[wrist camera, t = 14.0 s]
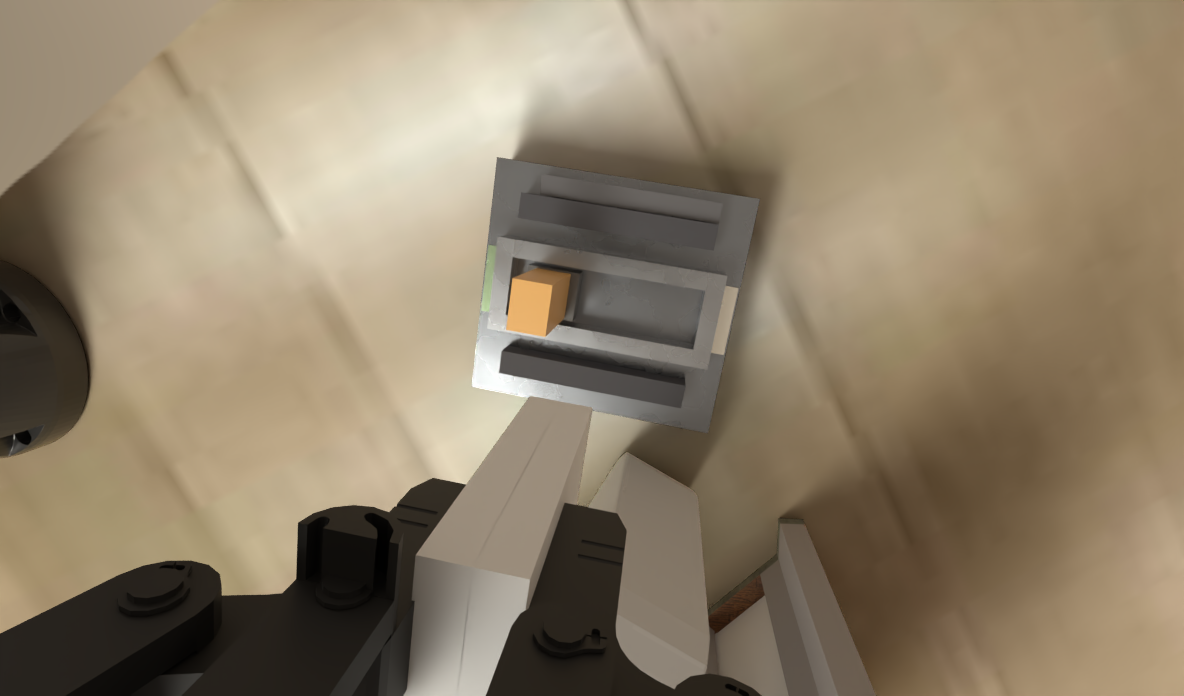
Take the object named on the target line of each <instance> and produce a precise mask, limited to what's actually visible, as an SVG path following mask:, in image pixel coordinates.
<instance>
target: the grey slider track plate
mask: <svg viewBox="0 0 1184 696" xmlns="http://www.w3.org/2000/svg"><path fill="white" fill-rule="evenodd" d="M542 195H546V196H542ZM548 196H552V197H548ZM554 197H558V198H554ZM560 198H565V199H560ZM566 199H571V200H566ZM572 200H577V201H572ZM579 201H583V202H579ZM585 202H589V203H585ZM591 203H595V204H591ZM597 204H601V205H597ZM603 205H607V206H603ZM609 206H613V207H609ZM722 206H723V203H719V202H713V201H707V200H701V199H694V198H688V197H682V196H676V195H669V194H663V193H657V192H651V191H645V190H638V189H632V188H626V187H620V186H613V185H607V184H601V183H595V182H588V181H582V180H576V179H570V178H563V177H557V176H551V175H545V174H542V182H541V189H540V195H536V194H530V193H522V192H521V197H520V205H519V213H518V218H521V219H527V220H533V221H539V222H545V223H551V224H557V225H563V226H569V227H575V228H581V229H587V230H593V231H599V232H605V233H611V234H617V235H623V236H629V237H635V238H640V239H646V240H652V241H658V242H664V243H670V244H676V245H682V246H688V247H694V248H700V249H706V250H712V251H714V247H715V242H716V237H717V232H718V228H719V225H718V224H719V221H720V216H721V211H722ZM615 207H620V208H615ZM621 208H626V209H621ZM627 209H632V210H627ZM634 210H638V211H634ZM640 211H644V212H640ZM646 212H650V213H646ZM652 213H656V214H652ZM658 214H662V215H658ZM664 215H668V216H664ZM670 216H675V217H670ZM676 217H681V218H676ZM682 218H687V219H682ZM689 219H693V220H689ZM695 220H699V221H695ZM701 221H705V222H701ZM707 222H711V223H707ZM713 223H717V224H713ZM499 373H501V374H506V375H511V376H516V377H522V378H527V379H532V380H537V381H542V382H547V383H552V384H558V385H563V386H568V387H573V388H578V389H583V390H588V391H594V392H599V393H604V394H609V395H614V396H619V397H624V398H630V399H635V400H640V401H645V402H650V403H655V404H660V405H666V406H671V407H676V408H681V406H682V401H683V396H684V392H685V387H686V383H685V379H682V378H677V377H671V376H666V375H661V374H656V373H650V372H645V371H640V370H635V369H629V368H624V367H619V366H613V365H608V364H603V363H598V362H592V361H587V360H582V359H577V358H571V357H566V356H561V355H555V354H550V353H545V352H540V351H534V350H529V349H524V348H518V347H513V346H507V347H506V348H504V349H503V350H502V351H501V359H500V368H499Z"/></svg>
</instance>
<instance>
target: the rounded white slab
mask: <svg viewBox="0 0 1184 696" xmlns="http://www.w3.org/2000/svg"><path fill="white" fill-rule="evenodd" d="M588 507H589V508H594V509H599V510H603V511H608V512H613V513H618V515H619V517H620V519H621V521H622V523H623V524H624V526H625V528H626V530H627V534H626V543H625V550H624V559H623V566H622V567H623V568H622V576H621V585H620V593H619V602H618V610H617V619H616V637H617V639H618V642H619V645H620V647H621V649H622V650H623V652H624V653H625V655H626V656H627V657H628V659H629V660H630V661H631V662H632V663H633V664H634V665H635V666H637V667H638V668H639V669H640V670H641V671H643V672H644V673H646V674H647V675H649V676H651V677H652V678H654V679H656V680H657V681H659V682H661V683H663V684H665V685H667V686H669V687H671V688H673V689H675V687H676V685H678V684H679V683H681V682H682V681H684V680H686V679H687V678H689V677H690V676H695V675H702V674H705V672H706V669H707V664H708V654H709V643H710V634H709V622H708V610H707V598H706V586H705V574H704V562H703V550H702V538H701V526H700V514H699V502H698V496H697V495H696V493H695V492H694V490H692V489H690V488H688V487H687V486H685V485H683V484H682V483H680V482H678V481H676V480H675V479H673V478H671V477H669V476H668V475H666V474H664V473H663V472H661V471H659V470H657V469H656V468H654V467H652V466H650V465H649V464H647V463H645V462H644V461H642V460H640V459H638V458H637V457H635V456H633V455H631V454H630V453H628V452H627V453H625V454H623V455H622V456H621V457H620V458H619V459H618V461H617V462H616V464H615V465H614V466H613V468H612V469H611V471H610V472H609V474H608V475H607V477H606V479H605V480H604V482H603V483H602V485H601V487H600V488H599V490H598V491H597V493H596V495H595V496H594V498H593V499H592V501H591V503H590V504H589V506H588Z"/></svg>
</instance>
